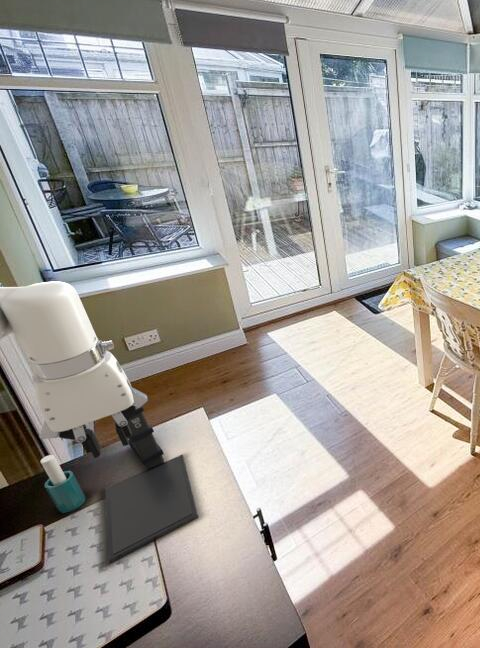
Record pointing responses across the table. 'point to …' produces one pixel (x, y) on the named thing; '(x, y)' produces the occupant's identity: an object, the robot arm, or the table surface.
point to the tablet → (148, 507)
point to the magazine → (144, 441)
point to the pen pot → (66, 493)
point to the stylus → (53, 470)
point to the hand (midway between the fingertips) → (111, 445)
